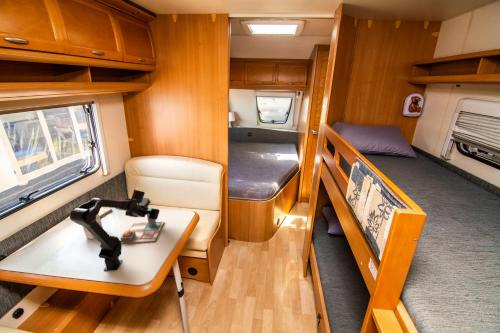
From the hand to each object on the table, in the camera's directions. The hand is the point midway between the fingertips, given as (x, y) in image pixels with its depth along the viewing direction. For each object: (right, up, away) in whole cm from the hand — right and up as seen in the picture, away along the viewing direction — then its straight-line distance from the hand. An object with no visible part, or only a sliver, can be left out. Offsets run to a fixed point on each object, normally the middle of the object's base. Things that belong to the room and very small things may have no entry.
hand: (151, 215), depth 144 cm
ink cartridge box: (-34, -11, -4) cm, 35 cm away
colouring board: (-4, -10, -2) cm, 11 cm away
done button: (-10, -10, -10) cm, 17 cm away
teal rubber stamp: (0, -7, +2) cm, 8 cm away
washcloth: (-47, -4, +16) cm, 50 cm away
